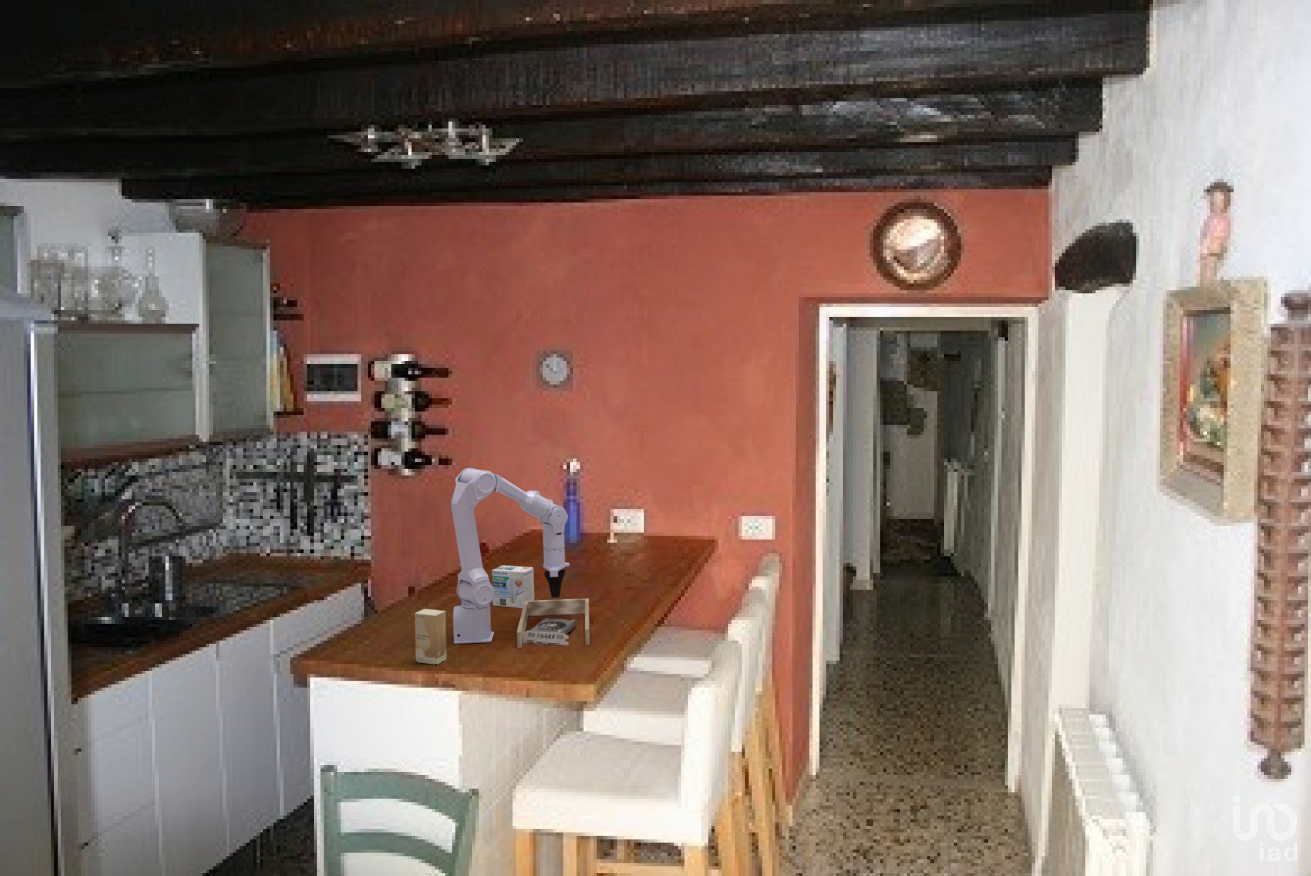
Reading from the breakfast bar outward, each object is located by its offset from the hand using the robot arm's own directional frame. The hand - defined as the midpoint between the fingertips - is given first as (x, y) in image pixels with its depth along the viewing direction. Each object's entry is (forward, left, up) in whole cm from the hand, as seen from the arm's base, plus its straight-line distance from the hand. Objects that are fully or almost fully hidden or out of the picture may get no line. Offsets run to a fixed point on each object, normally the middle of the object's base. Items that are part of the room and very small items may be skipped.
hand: (555, 596), depth 268 cm
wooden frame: (0, -8, -7) cm, 10 cm away
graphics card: (0, -13, -8) cm, 15 cm away
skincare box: (-29, -31, -7) cm, 43 cm away
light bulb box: (-13, +20, -7) cm, 25 cm away
